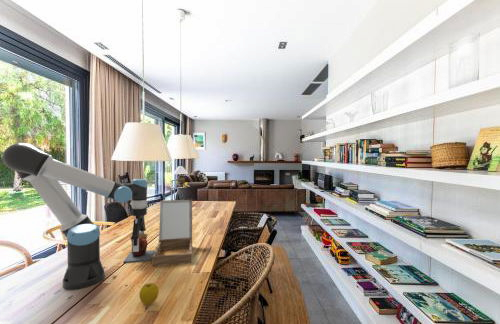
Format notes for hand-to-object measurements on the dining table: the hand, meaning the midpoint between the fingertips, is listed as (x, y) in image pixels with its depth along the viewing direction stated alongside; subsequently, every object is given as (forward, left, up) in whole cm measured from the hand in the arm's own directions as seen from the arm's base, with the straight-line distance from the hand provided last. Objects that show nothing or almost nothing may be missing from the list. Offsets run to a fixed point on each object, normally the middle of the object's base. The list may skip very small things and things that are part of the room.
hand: (138, 246), depth 131 cm
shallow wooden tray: (-2, -18, -6) cm, 19 cm away
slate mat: (0, 0, -6) cm, 6 cm away
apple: (-47, -13, -6) cm, 49 cm away
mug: (0, -1, -5) cm, 5 cm away
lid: (+14, -18, +11) cm, 25 cm away
